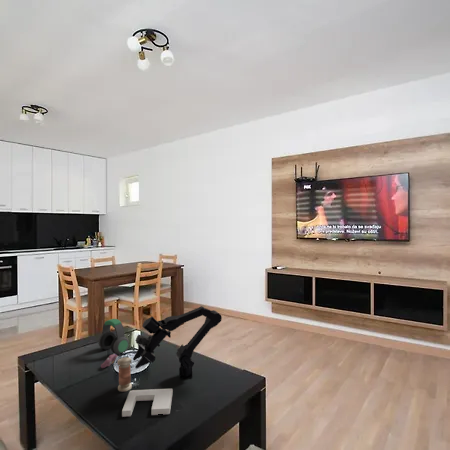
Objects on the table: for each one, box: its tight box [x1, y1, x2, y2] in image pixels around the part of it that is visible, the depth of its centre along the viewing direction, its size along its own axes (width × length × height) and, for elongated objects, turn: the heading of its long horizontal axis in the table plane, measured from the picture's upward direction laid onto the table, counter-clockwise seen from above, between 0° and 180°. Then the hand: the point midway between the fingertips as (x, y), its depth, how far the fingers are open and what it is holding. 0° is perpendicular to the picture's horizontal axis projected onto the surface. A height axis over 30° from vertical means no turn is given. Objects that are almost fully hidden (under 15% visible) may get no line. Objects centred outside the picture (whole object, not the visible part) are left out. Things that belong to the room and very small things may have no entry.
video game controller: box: [100, 353, 119, 369], centre depth 184 cm, size 10×5×7 cm, turn 169°
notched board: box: [121, 388, 174, 418], centre depth 145 cm, size 20×16×2 cm
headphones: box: [97, 318, 130, 355], centre depth 202 cm, size 19×11×20 cm, turn 55°
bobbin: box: [117, 356, 133, 393], centre depth 159 cm, size 7×7×14 cm
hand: (134, 363), depth 161 cm, fingers open, 9 cm apart
